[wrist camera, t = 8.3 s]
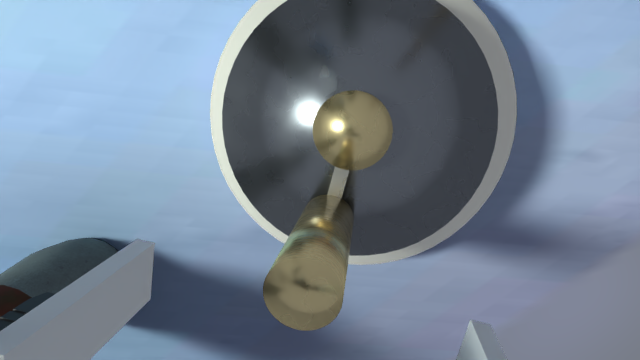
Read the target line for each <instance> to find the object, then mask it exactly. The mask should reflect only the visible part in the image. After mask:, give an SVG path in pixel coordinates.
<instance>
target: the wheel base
mask: <svg viewBox="0 0 640 360" xmlns="http://www.w3.org/2000/svg"><path fill="white" fill-rule="evenodd" d="M286 1H287V0H258V1H257V2H256V3H255V4H254V5H253V6H252V7H251V8H250V9H249V10H248V12H247V13H246V14H245V15H244V17H243V18H242V19H241V20H240V21H239V23H238V25H237V26H236V28H235V29H234V31H233V33H232V34H231V36H230V38H229V39H228V41H227V44H226V46H225V48H224V50H223V52H222V55H221V57H220V60H219V63H218V66H217V70H216V73H215V76H214V82H213V87H212V93H211V107H210V120H211V134H212V139H213V144H214V149H215V153H216V156H217V159H218V162H219V165H220V168H221V171H222V173H223V175H224V177H225V179H226V181H227V184H228V186H229V187H230V189H231V191H232V192H233V194H234V195H235V197H236V199H237V200H238V202H239V203H240V204H241V205H242V207H243V208H244V209H245V210H246V212H247V213H248V214H249V215H250V216H251V217H252V218H253V219H254V220H255V221H256V222H257V223H258V224H259V225H260V226H261V227H262V228H263V229H264V230H266V231H267V232H268V233H270V234H271V235H272V236H273V237H275V238H276V239H278V240H279V241H281V242H283V243H284V244H285V242H286V241H287V239H288V237H289V236H287V235H286V234H284V233H283V232H281V231H280V230H278V229H277V228H275V227H274V226H273V225H272V224H271V223H269V222H268V221H267V220H266V219H265V218H264V217H263V216H262V215H261V214H260V213H259V212H258V211H257V210H256V209H255V208H254V206H253V205H252V204H251V203H250V201H249V200H248V198H247V197H246V196H245V194H244V193H243V191H242V189H241V187H240V186H239V184H238V182H237V180H236V178H235V176H234V174H233V171H232V169H231V166H230V164H229V161H228V157H227V153H226V149H225V145H224V138H223V130H222V108H223V100H224V93H225V89H226V85H227V80H228V77H229V74H230V71H231V69H232V66H233V64H234V61H235V59H236V57H237V55H238V53H239V52H240V50H241V48H242V46H243V44H244V43H245V41H246V40H247V39H248V37H249V36H250V34H251V33H252V32H253V30H254V29H255V28H256V27H257V26H258V25H259V24H260V23H261V22H262V21H263V19H264V18H265V17H266V16H267V15H269V14H270V13H271V12H272V11H274V10H275V9H276V8H277V7H278V6H280V5H281V4H282V3H284V2H286ZM436 1H437V2H439V3H440V4H441V5H443V6H444V7H446V8H447V9H448V10H449V11H450V12H452V13H453V14H454V15H455V16H456V17H457V18H458V19H459V20H460V21H461V22H462V23H463V24H464V25H465V27H466V28H467V29H468V30H469V32H470V33H471V34H472V35H473V37H474V38H475V40H476V42H477V43H478V45H479V47H480V48H481V50H482V52H483V53H484V55H485V58H486V60H487V63H488V65H489V68H490V70H491V73H492V77H493V81H494V85H495V89H496V94H497V104H498V130H497V136H496V142H495V148H494V151H493V154H492V158H491V161H490V164H489V167H488V169H487V171H486V173H485V175H484V178H483V180H482V182H481V184H480V185H479V187H478V188H477V190H476V192H475V193H474V195H473V196H472V198H471V199H470V200H469V202H468V203H467V204H466V205H465V206H464V208H463V209H462V210H461V211H460V212H459V213H458V214H457V215H456V216H455V217H454V218H453V219H452V220H451V221H450V222H449V223H447V224H446V225H445V226H444V227H442V228H441V229H439V230H438V231H437V232H435V233H434V234H432V235H431V236H429V237H427V238H425V239H423V240H421V241H420V242H418V243H415V244H413V245H410V246H408V247H405V248H403V249H400V250H396V251H392V252H388V253H383V254H376V255H365V256H350V255H349V259H348V264H356V265H367V264H381V263H386V262H392V261H397V260H401V259H404V258H407V257H410V256H414V255H417V254H419V253H421V252H423V251H425V250H428V249H430V248H432V247H434V246H436V245H437V244H439V243H441V242H442V241H444V240H445V239H447V238H449V237H450V236H451V235H453V234H454V233H455V232H457V231H458V230H459V229H460V228H462V227H463V226H464V225H465V224H466V223H467V222H468V221H469V220H470V219H471V218H472V217H473V216H474V215H475V214H476V213H477V212H478V211H479V210H480V208H481V207H482V206H483V204H484V203H485V202H486V201H487V199H488V198H489V197H490V195H491V194H492V192H493V190H494V188H495V187H496V185H497V183H498V181H499V180H500V178H501V176H502V173H503V171H504V169H505V166H506V164H507V161H508V159H509V156H510V152H511V148H512V144H513V140H514V135H515V127H516V119H517V96H516V89H515V82H514V76H513V72H512V68H511V65H510V62H509V58H508V55H507V52H506V50H505V48H504V46H503V44H502V42H501V39H500V37H499V35H498V33H497V31H496V30H495V28H494V27H493V25H492V24H491V22H490V21H489V19H488V18H487V16H486V15H485V14H484V13H483V11H482V10H481V9H480V8H479V7H478V6H477V5H476V4H475V3H474V1H473V0H436Z"/></svg>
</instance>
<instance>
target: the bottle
mask: <svg viewBox="0 0 640 360" xmlns="http://www.w3.org/2000/svg"><path fill="white" fill-rule="evenodd" d="M117 252H118V251H117V250H116V249H115V248H114V247H112V246H111V245H109V244H107V243H106V242H104V241H101V240H97V239H94V238H81V239H74V240H68V241H65V242H62V243H59V244H56V245H53V246H50V247H48V248H45V249H42V250H40V251H37V252H35V253H33V254H31V255H29V256H28V257H26V258H24V259H23V260H21V261H20V262H18V263H17V264H15V265H14V266H12V267H10V268H9V269H7V270H6V271H4V272H3V273H1V274H0V317H1V316H3V315H4V314H6V313H7V312H9V311H12V310H13V309H14V308H15V307H17V306H18V305H20V304H22V303H23V302H25V301H26V300H28V299H30V298H33V297H35V296H38V295H41V294H43V293H46V292H50V293H53V294H56V293H58V292H59V291H61V290H62V289H64V288H65V287H67V286H68V285H70V284H71V283H73V282H74V281H76V280H77V279H79V278H80V277H81V276H83V275H84V274H86V273H87V272H89V271H90V270H92V269H93V268H95V267H96V266H98V265H99V264H101V263H102V262H104V261H105V260H107V259H108V258H110V257H111V256H113V255H114V254H116V253H117Z"/></svg>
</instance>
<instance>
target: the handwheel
mask: <svg viewBox="0 0 640 360" xmlns="http://www.w3.org/2000/svg"><path fill="white" fill-rule="evenodd" d="M222 130H223V138H224V145H225V149H226V153H227V157H228V161H229V164H230V166H231V169H232V171H233V174H234V176H235V178H236V180H237V182H238V184H239V186H240V187H241V189H242V191H243V193H244V194H245V196H246V197H247V198H248V200H249V201H250V203H251V204H252V205H253V206H254V208H255V209H256V210H257V211H258V212H259V213H260V214H261V215H262V216H263V217H264V218H265V219H266V220H267V221H268V222H269V223H271V224H272V225H273V226H274V227H275V228H277V229H278V230H280V231H281V232H283V233H284V234H286V235H287V236H289V237H288V239H287V241H286V242H285V244H284V246H283V248H282V250H281V251H280V253H279V255H278V257H277V258H276V260H275V262H274V264H273V266H272V267H271V269H270V271H269V273H268V274H267V276H266V278H265V281H264V286H263V296H264V301H265V303H266V306H267V308H268V310H269V311H270V312H271V314H272V315H273V316H274V317H275V318H276V319H277V320H278V321H279V322H281V323H282V324H284V325H286V326H288V327H290V328H293V329H297V330H303V331H309V330H316V329H320V328H322V327H324V326H326V325H328V324H329V323H331V322H332V321H333V320H334V319H335V318H336V317H337V315H338V314H339V312H340V309H341V307H342V302H343V295H344V288H345V281H346V274H347V266H348V259H349V255H350V256H365V255H376V254H383V253H388V252H392V251H396V250H400V249H403V248H405V247H408V246H410V245H413V244H415V243H418V242H420V241H421V240H423V239H425V238H427V237H429V236H431V235H432V234H434V233H435V232H437V231H438V230H439V229H441V228H442V227H444V226H445V225H446V224H447V223H449V222H450V221H451V220H452V219H453V218H454V217H455V216H456V215H457V214H458V213H459V212H460V211H461V210H462V209H463V208H464V206H465V205H466V204H467V203H468V202H469V200H470V199H471V198H472V196H473V195H474V193H475V192H476V190H477V188H478V187H479V185H480V184H481V182H482V180H483V178H484V175H485V173H486V171H487V169H488V167H489V164H490V161H491V158H492V154H493V151H494V148H495V142H496V136H497V130H498V104H497V94H496V89H495V85H494V81H493V77H492V73H491V70H490V68H489V65H488V63H487V60H486V58H485V55H484V53H483V52H482V50H481V48H480V47H479V45H478V43H477V42H476V40H475V38H474V37H473V35H472V34H471V33H470V32H469V30H468V29H467V28H466V27H465V25H464V24H463V23H462V22H461V21H460V20H459V19H458V18H457V17H456V16H455V15H454V14H453V13H452V12H450V11H449V10H448V9H447V8H446V7H444V6H443V5H441V4H440V3H439V2H437V1H436V0H287V1H286V2H284V3H282V4H281V5H280V6H278V7H277V8H276V9H275V10H274V11H272V12H271V13H270V14H269V15H267V16H266V17H265V18H264V19H263V21H262V22H261V23H260V24H259V25H258V26H257V27H256V28H255V29H254V30H253V32H252V33H251V34H250V36H249V37H248V39H247V40H246V41H245V43H244V44H243V46H242V48H241V50H240V52H239V53H238V55H237V57H236V59H235V61H234V64H233V66H232V69H231V71H230V74H229V77H228V80H227V85H226V89H225V93H224V100H223V108H222Z"/></svg>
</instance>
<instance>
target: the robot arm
mask: <svg viewBox="0 0 640 360" xmlns="http://www.w3.org/2000/svg"><path fill="white" fill-rule="evenodd" d="M154 245H155V243H153V242H149V241H145V240H141V239H136V240H135V241H133V242H132V243H130V244H129V245H127V246H126V247H124V248H123V249H122V250H120V251H119V252H117V253H116V254H114V255H113V256H111V257H110V258H108V259H107V260H105V261H104V262H102V263H101V264H99V265H98V266H96V267H95V268H93V269H92V270H90V271H89V272H87V273H86V274H84V275H83V276H81V277H80V278H79V279H77V280H76V281H74V282H73V283H71V284H70V285H68V286H67V287H65V288H64V289H62V290H61V291H59V292H58V293H56V294H53V293H50V292H46V293H43V294H41V295H38V296H35V297H33V298H30V299H28V300H26V301H25V302H23V303H22V304H20V305H18V306H17V307H15V308H14V309H13V310H12V311H9V312H7V313H6V314H4V315H3V316H1V317H0V360H90V359H91V358H92V357H93V356H94V355H95V354H96V353H97V352H98V351H99V350H100V349H101V348H102V347H103V346H104V345H105V344H106V343H107V342H108V341H109V340H110V339H111V338H112V337H113V336H114V335H115V334H116V333H117V332H118V331H119V330H120V329H121V328H122V327H123V326H124V325H125V324H126V323H127V322H128V321H129V320H130V319H131V318H132V317H133V316H134V315H135V314H136V313H137V312H138V311H139V310H140V309H141V308H142V307H143V306H144V305H145V304H146V303H147V302H148V301H149V300H150V299H151V286H152V273H153V259H154ZM456 360H508V359H507V357H506V355H505V353H504V351H503V349H502V347H501V345H500V343H499V341H498V339H497V337H496V335H495V333H494V331H493V329H492V327H491V325H490V324H487V323H483V322H479V321H475V320H471V319H470V322H469V325H468V328H467V331H466V333H465V336H464V339H463V342H462V345H461V347H460V350H459V353H458V356H457V359H456Z"/></svg>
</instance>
